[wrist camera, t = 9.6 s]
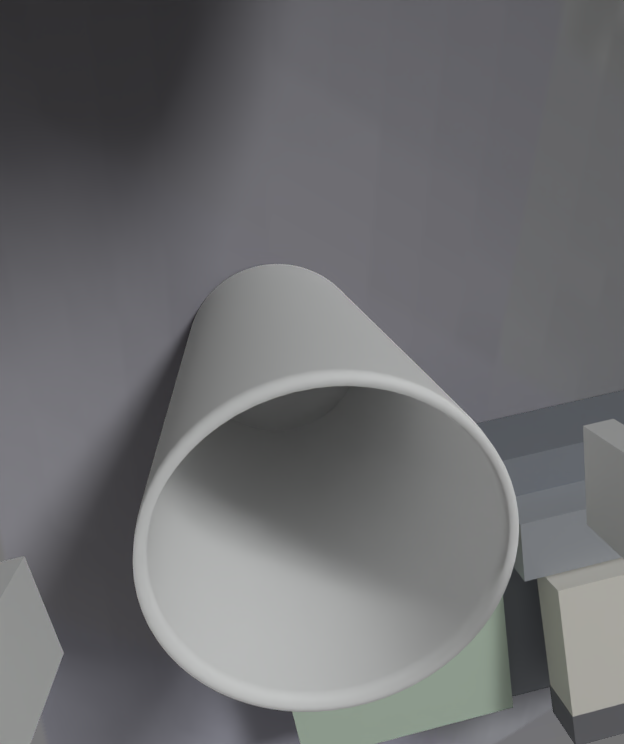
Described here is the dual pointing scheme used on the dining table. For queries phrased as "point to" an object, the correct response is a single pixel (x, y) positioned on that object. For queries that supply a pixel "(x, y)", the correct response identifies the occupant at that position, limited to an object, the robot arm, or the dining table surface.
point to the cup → (315, 505)
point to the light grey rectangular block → (586, 648)
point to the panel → (521, 598)
